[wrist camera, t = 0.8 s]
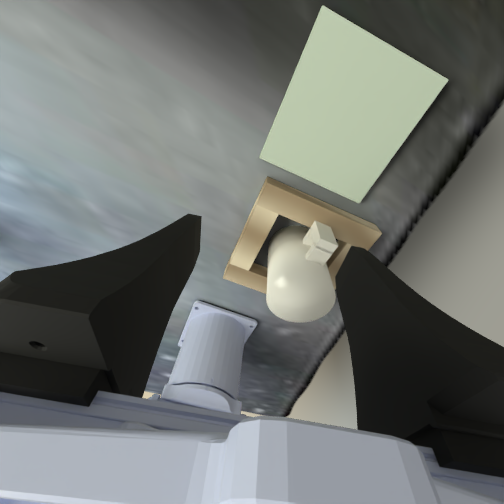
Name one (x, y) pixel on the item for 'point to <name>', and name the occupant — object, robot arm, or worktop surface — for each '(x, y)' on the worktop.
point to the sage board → (348, 107)
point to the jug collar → (302, 211)
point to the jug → (300, 272)
